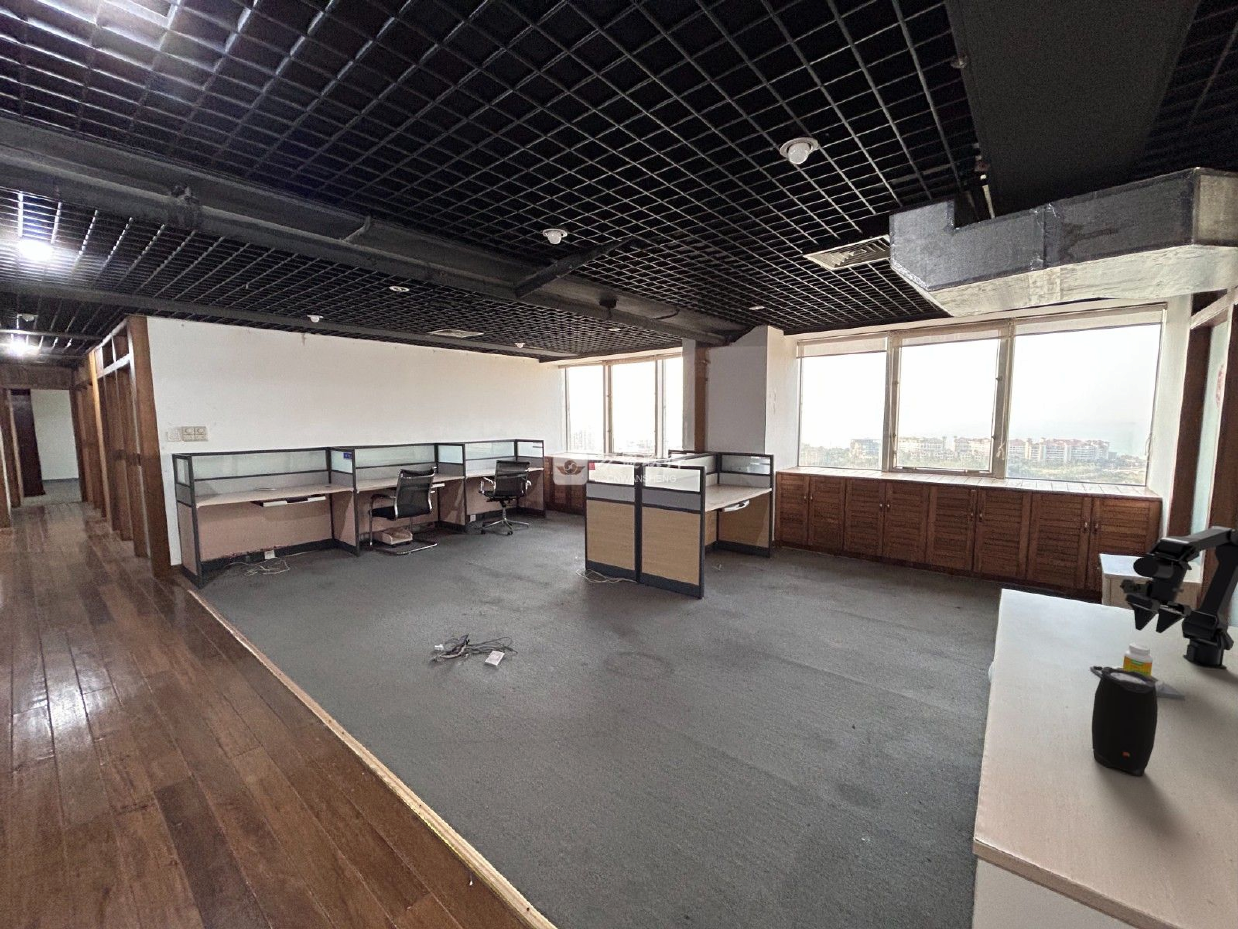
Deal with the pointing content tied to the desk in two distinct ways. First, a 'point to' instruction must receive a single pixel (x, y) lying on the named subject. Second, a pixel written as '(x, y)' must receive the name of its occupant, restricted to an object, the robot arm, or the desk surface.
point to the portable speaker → (1124, 720)
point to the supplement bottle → (1138, 659)
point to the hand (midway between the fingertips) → (1148, 631)
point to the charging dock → (1161, 687)
